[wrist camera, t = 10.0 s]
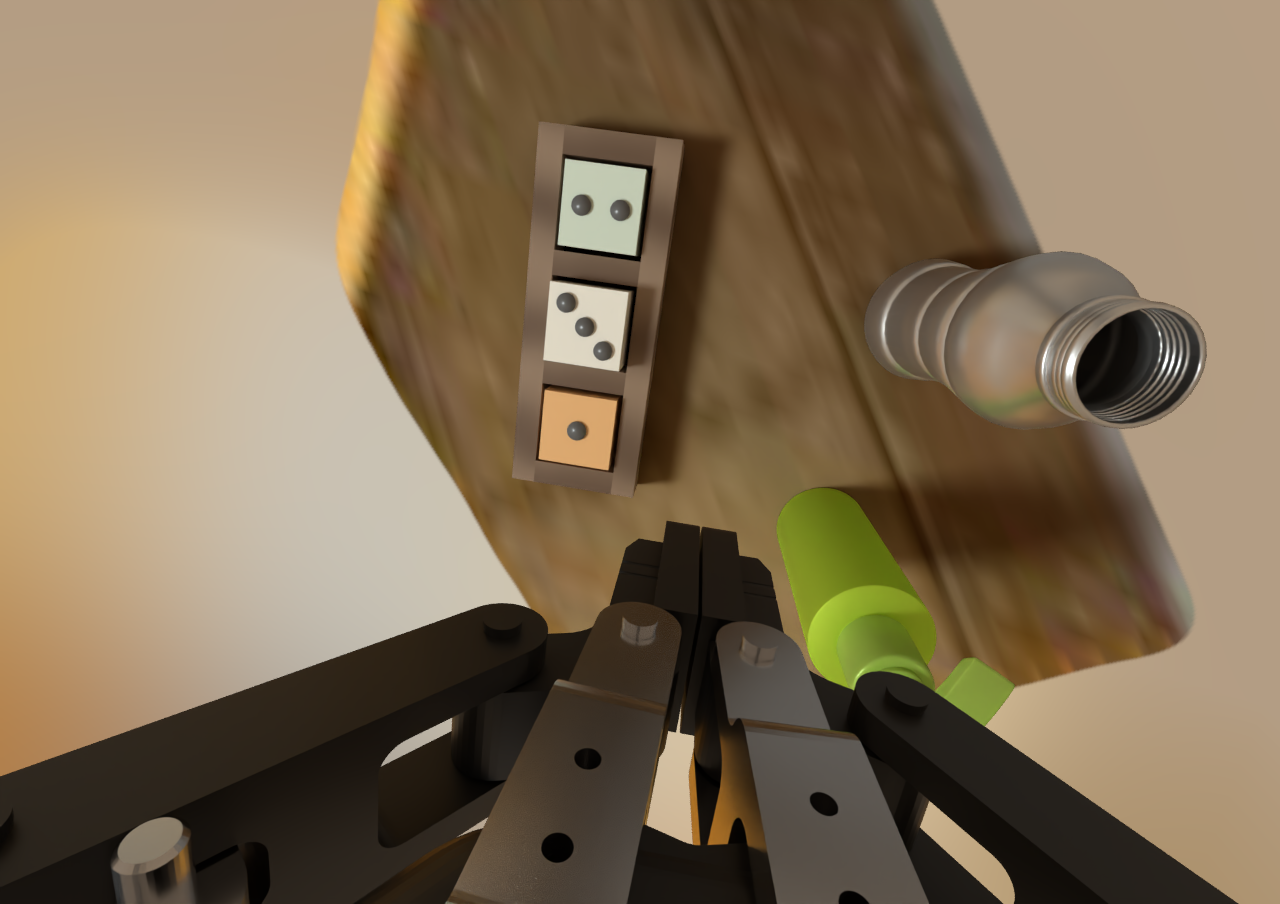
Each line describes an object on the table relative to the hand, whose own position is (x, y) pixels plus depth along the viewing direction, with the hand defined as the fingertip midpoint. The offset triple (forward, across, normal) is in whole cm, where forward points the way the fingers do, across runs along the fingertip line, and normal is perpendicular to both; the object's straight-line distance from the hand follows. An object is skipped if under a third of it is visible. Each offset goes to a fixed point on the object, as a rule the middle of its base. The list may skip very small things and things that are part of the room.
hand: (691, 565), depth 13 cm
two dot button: (+28, +7, -8) cm, 30 cm away
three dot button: (+27, +7, -2) cm, 28 cm away
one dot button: (+28, +7, +4) cm, 29 cm away
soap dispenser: (+27, -10, +9) cm, 30 cm away
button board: (+27, +7, -2) cm, 28 cm away
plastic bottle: (+27, -12, -5) cm, 30 cm away
